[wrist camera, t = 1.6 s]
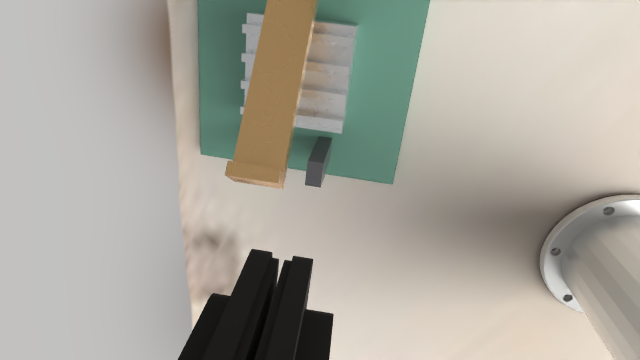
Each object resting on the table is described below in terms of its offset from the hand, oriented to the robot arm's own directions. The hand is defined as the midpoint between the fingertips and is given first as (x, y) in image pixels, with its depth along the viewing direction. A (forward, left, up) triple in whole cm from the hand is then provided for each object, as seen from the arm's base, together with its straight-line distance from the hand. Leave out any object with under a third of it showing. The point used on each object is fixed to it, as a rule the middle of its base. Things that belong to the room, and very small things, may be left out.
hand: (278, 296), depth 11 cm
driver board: (+4, -2, -26) cm, 26 cm away
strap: (+4, -3, -17) cm, 17 cm away
